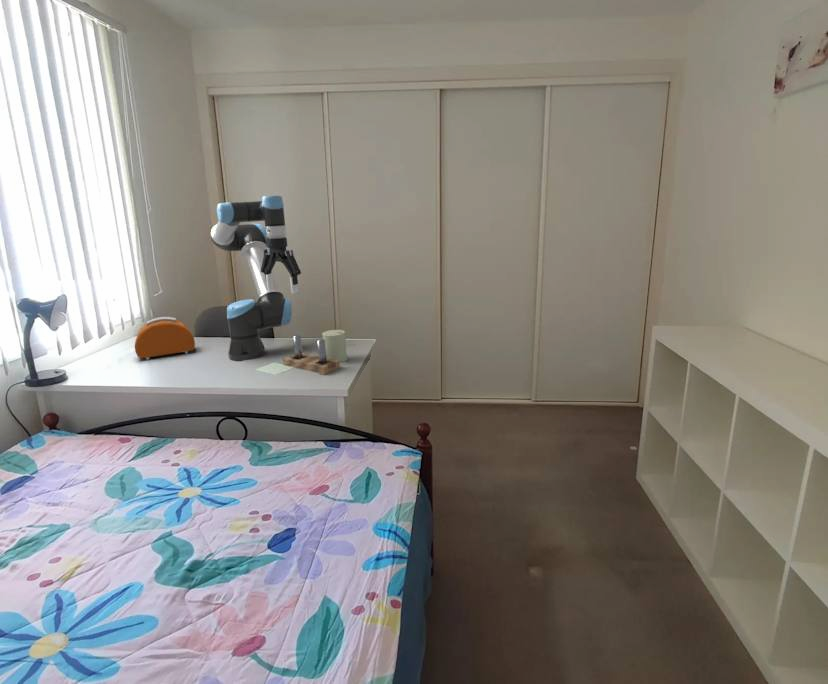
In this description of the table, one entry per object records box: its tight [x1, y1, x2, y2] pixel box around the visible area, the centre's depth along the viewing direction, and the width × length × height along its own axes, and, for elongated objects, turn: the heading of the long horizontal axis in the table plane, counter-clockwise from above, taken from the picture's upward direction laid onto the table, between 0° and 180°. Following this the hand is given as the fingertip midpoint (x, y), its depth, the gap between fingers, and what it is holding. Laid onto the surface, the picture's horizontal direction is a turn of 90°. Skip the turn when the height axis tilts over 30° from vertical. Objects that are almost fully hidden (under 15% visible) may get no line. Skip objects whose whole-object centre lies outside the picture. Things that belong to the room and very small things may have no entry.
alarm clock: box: [134, 316, 196, 361], centre depth 226 cm, size 23×9×17 cm, turn 115°
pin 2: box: [316, 338, 327, 365], centre depth 199 cm, size 3×3×12 cm
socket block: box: [282, 353, 341, 376], centre depth 204 cm, size 22×9×3 cm, turn 56°
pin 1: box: [292, 334, 304, 360], centre depth 206 cm, size 3×3×12 cm
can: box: [321, 329, 348, 363], centre depth 210 cm, size 9×9×12 cm
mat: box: [254, 362, 295, 376], centre depth 203 cm, size 12×10×1 cm
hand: (282, 291), depth 206 cm, fingers open, 13 cm apart
